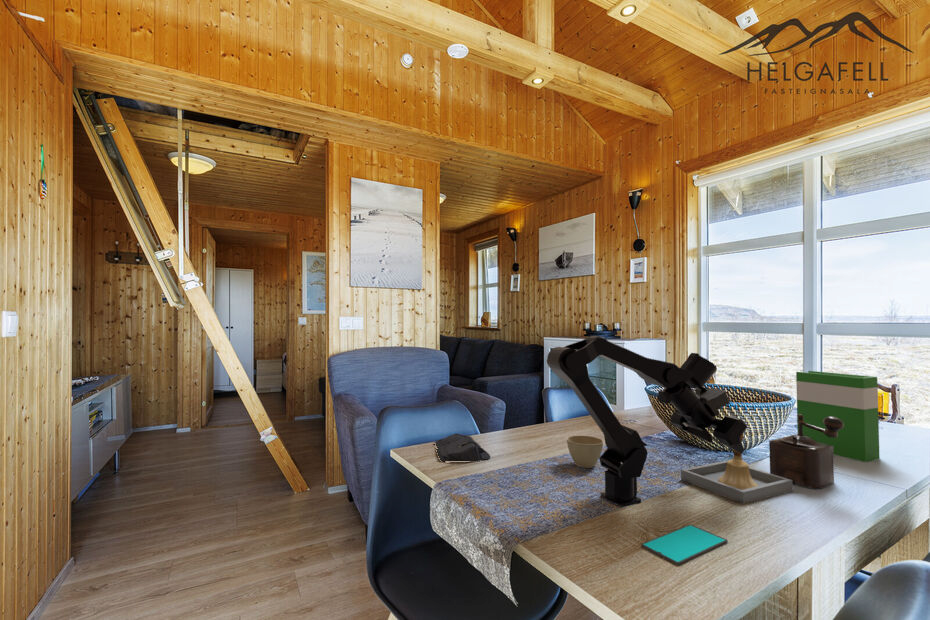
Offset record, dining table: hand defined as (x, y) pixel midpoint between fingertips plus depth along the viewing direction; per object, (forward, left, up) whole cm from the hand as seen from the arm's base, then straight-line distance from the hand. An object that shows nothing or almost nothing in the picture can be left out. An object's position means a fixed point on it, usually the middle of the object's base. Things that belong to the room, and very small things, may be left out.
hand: (726, 446), depth 105 cm
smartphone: (-32, -15, -11) cm, 37 cm away
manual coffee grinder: (+23, -7, -10) cm, 26 cm away
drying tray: (+4, 0, -10) cm, 11 cm away
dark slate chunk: (-48, +54, -11) cm, 73 cm away
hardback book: (+59, +5, -10) cm, 60 cm away
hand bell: (+3, -1, -10) cm, 10 cm away
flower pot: (-20, +27, -10) cm, 36 cm away
